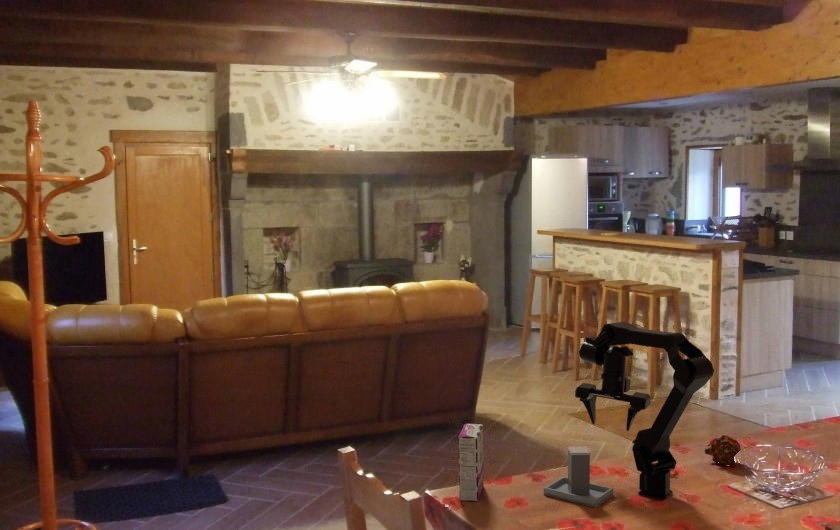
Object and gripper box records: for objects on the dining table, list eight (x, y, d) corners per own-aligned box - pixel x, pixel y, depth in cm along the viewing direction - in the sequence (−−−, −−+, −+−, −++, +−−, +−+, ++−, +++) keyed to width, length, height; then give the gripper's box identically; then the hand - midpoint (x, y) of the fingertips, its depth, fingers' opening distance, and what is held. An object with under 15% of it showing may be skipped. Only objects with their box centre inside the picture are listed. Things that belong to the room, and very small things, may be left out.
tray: (613, 495, 201) (613, 488, 201) (595, 507, 193) (595, 500, 193) (563, 483, 210) (563, 476, 210) (543, 494, 202) (543, 487, 202)
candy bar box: (464, 484, 209) (464, 422, 208) (484, 486, 208) (483, 423, 207) (458, 501, 198) (457, 435, 197) (478, 502, 197) (478, 436, 196)
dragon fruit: (733, 477, 217) (712, 469, 229) (756, 457, 218) (734, 449, 230) (714, 452, 217) (694, 445, 228) (737, 432, 218) (716, 426, 230)
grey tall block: (585, 489, 204) (586, 446, 203) (590, 496, 199) (590, 452, 198) (567, 489, 204) (567, 446, 203) (570, 496, 199) (571, 452, 198)
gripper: (658, 368, 213) (654, 425, 215) (589, 358, 222) (586, 412, 225) (646, 378, 204) (642, 437, 206) (575, 366, 213) (572, 423, 215)
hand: (610, 427), depth 213 cm, fingers open, 9 cm apart
